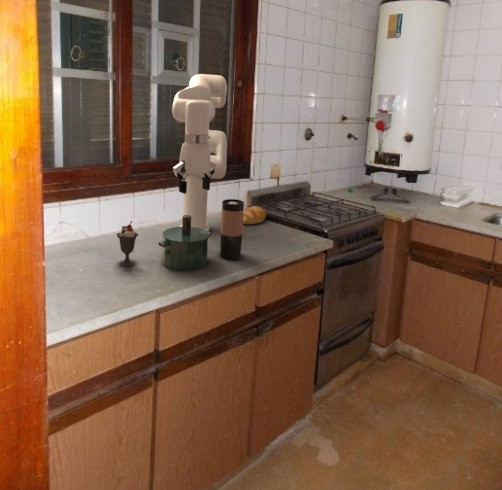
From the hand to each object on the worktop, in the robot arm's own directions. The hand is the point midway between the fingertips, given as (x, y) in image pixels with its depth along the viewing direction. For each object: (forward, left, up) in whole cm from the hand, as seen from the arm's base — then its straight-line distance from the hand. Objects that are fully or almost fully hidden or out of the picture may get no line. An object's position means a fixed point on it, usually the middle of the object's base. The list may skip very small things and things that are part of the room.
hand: (194, 191), depth 145 cm
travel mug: (+4, +14, -25) cm, 29 cm away
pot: (-1, -2, -25) cm, 25 cm away
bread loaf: (-22, +52, -25) cm, 61 cm away
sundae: (-11, -18, -25) cm, 33 cm away
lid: (-1, -2, -15) cm, 15 cm away
